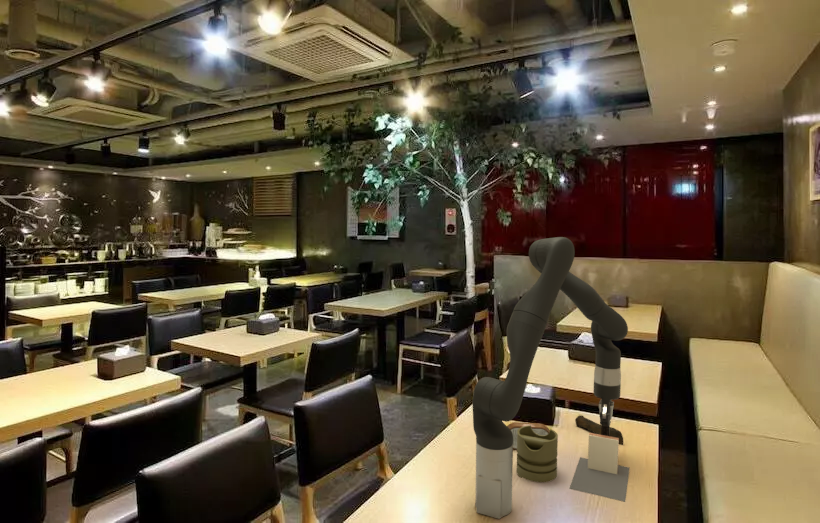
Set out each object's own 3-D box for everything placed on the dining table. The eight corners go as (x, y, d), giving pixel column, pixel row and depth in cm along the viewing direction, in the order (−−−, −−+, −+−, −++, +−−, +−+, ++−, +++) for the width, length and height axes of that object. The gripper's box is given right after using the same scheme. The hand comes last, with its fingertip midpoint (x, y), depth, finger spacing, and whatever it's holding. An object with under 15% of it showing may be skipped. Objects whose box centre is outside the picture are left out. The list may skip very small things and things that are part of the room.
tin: (550, 448, 159) (551, 422, 159) (552, 452, 156) (552, 426, 156) (503, 446, 161) (503, 420, 160) (504, 450, 158) (504, 424, 157)
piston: (522, 422, 150) (560, 429, 145) (521, 460, 151) (559, 468, 146) (513, 437, 140) (554, 445, 135) (512, 478, 141) (553, 487, 136)
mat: (625, 503, 128) (625, 501, 128) (569, 490, 134) (569, 488, 134) (629, 468, 146) (629, 467, 146) (580, 458, 152) (580, 457, 152)
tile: (617, 474, 142) (618, 440, 141) (587, 468, 146) (588, 435, 145) (617, 471, 144) (618, 438, 143) (588, 465, 147) (589, 432, 146)
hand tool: (574, 426, 176) (574, 414, 176) (582, 424, 178) (583, 412, 178) (616, 449, 159) (617, 435, 159) (625, 446, 161) (626, 432, 160)
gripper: (619, 389, 141) (616, 447, 142) (622, 376, 153) (620, 430, 154) (591, 385, 144) (589, 442, 146) (596, 373, 156) (594, 426, 157)
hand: (605, 436), depth 150 cm, fingers closed
